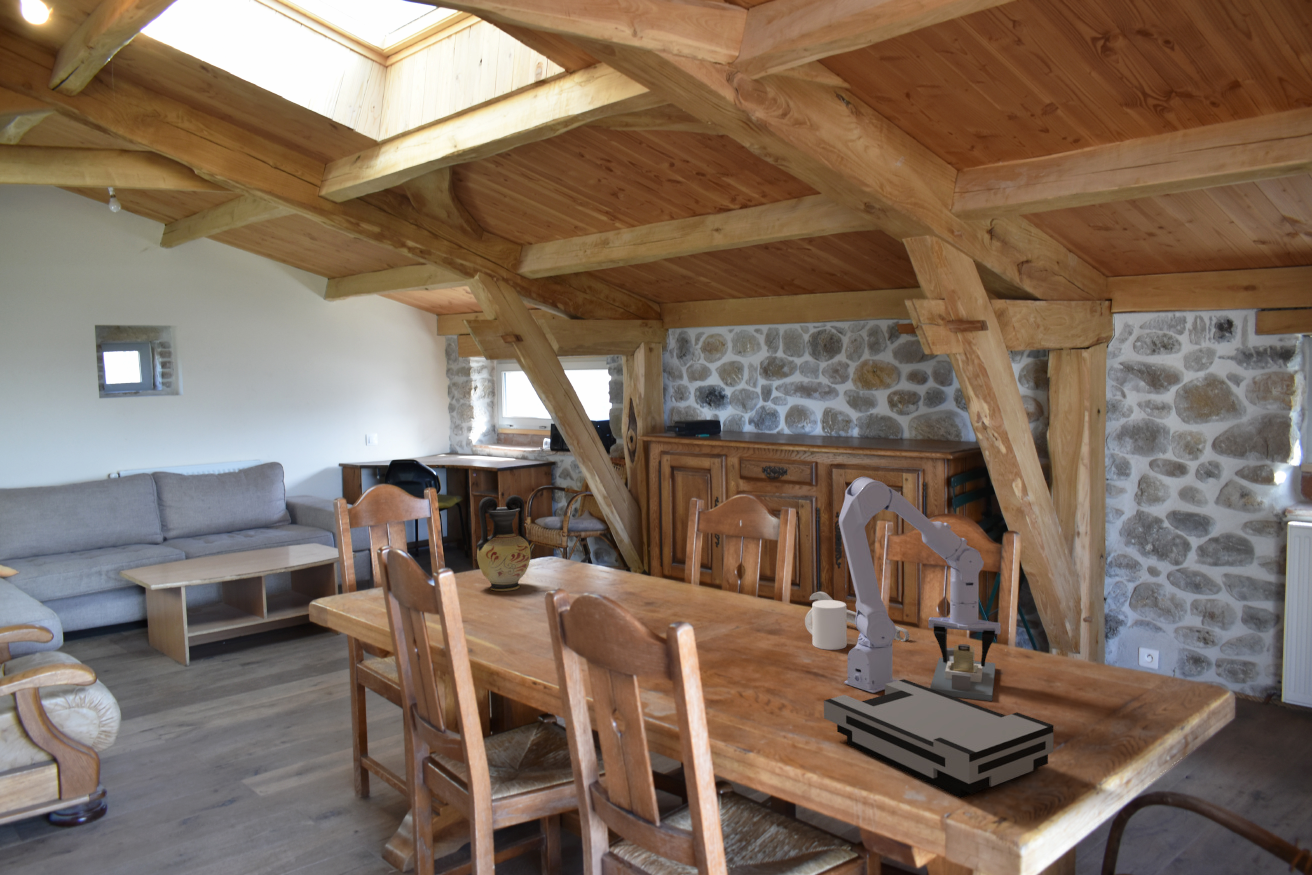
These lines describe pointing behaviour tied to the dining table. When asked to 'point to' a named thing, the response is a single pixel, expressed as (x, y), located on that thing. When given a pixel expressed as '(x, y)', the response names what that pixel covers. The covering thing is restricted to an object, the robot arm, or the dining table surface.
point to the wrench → (852, 615)
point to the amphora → (503, 544)
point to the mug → (828, 624)
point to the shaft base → (964, 679)
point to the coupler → (964, 658)
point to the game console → (942, 737)
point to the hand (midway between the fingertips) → (964, 663)
